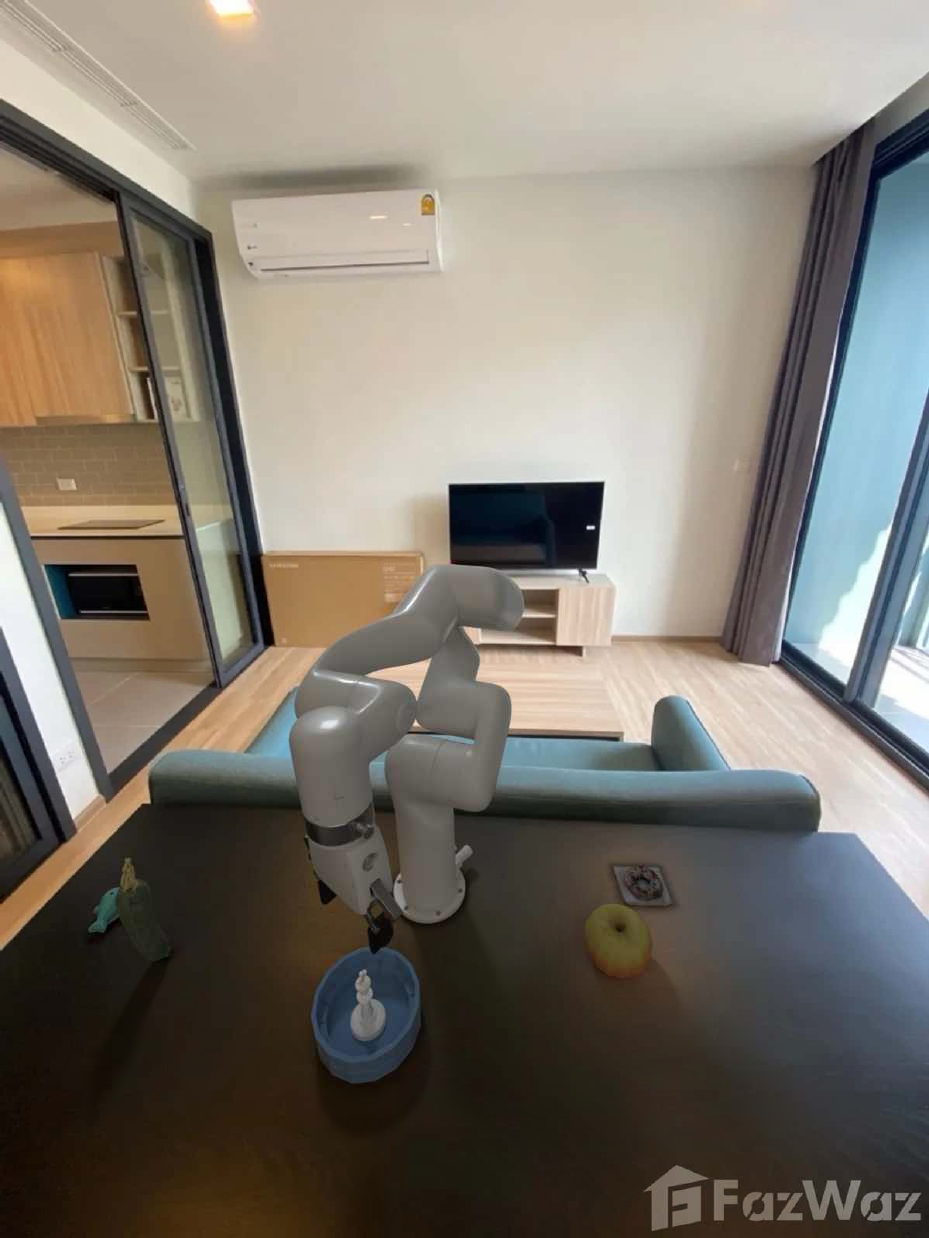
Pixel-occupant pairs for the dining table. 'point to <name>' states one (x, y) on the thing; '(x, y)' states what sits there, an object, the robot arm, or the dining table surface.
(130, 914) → the vegetable
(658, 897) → the donut
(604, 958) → the apple
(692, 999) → the dining table surface
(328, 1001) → the bowl
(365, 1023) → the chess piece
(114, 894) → the whale figurine
